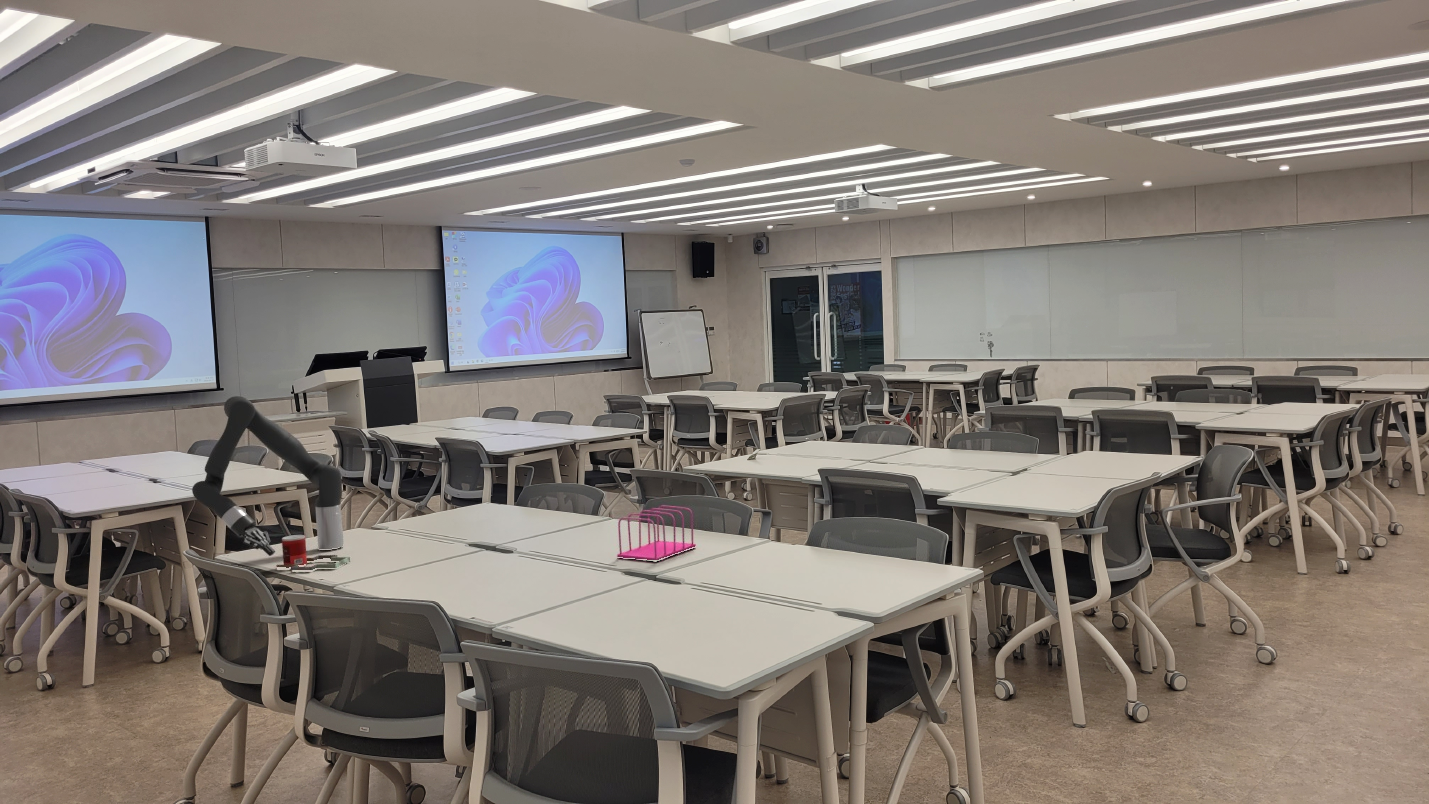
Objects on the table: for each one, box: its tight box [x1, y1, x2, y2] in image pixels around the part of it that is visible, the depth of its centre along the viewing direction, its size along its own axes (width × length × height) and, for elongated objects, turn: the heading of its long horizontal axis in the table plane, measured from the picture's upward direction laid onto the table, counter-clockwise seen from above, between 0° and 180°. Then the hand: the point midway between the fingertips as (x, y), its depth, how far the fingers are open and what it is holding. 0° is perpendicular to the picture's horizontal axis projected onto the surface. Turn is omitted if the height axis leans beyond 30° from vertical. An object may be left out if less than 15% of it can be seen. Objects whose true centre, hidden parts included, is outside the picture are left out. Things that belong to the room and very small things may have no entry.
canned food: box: [281, 534, 308, 565], centre depth 353 cm, size 8×8×11 cm
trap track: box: [276, 554, 351, 571], centre depth 352 cm, size 19×22×2 cm
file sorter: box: [616, 504, 697, 560], centre depth 351 cm, size 17×25×16 cm
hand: (272, 553), depth 353 cm, fingers closed
